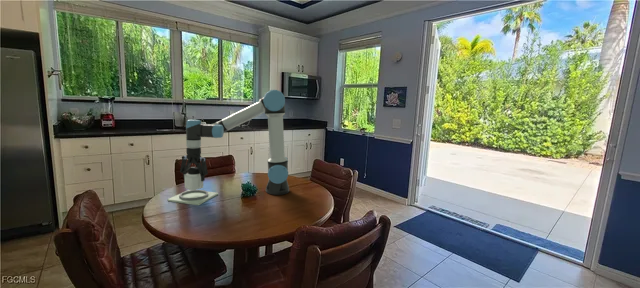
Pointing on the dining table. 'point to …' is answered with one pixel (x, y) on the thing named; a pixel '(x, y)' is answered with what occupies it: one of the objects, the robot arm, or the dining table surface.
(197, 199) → the socket board
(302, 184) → the dining table surface
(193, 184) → the medicine bottle
